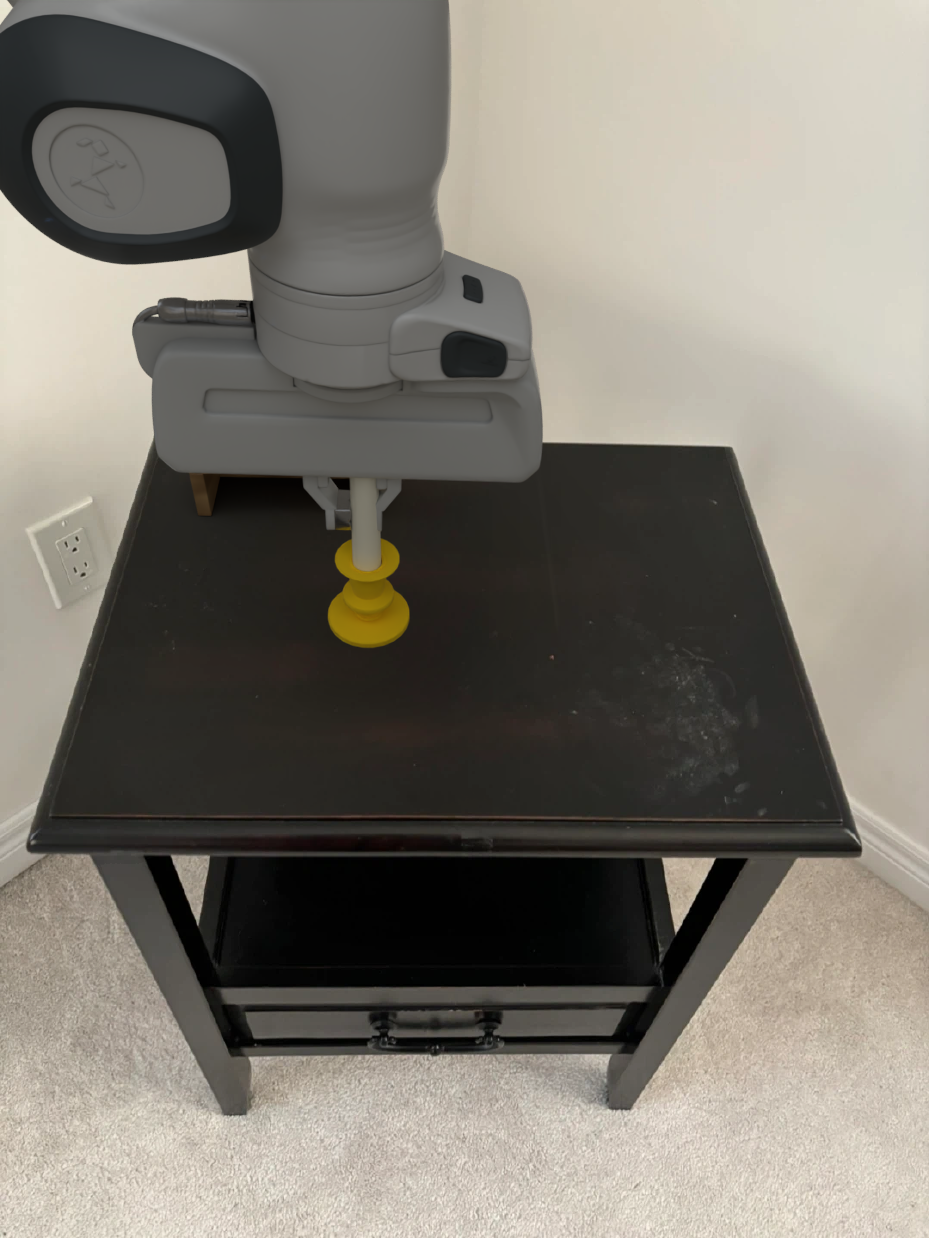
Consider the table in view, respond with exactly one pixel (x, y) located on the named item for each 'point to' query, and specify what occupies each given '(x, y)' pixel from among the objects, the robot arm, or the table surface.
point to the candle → (367, 578)
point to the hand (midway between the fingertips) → (355, 523)
